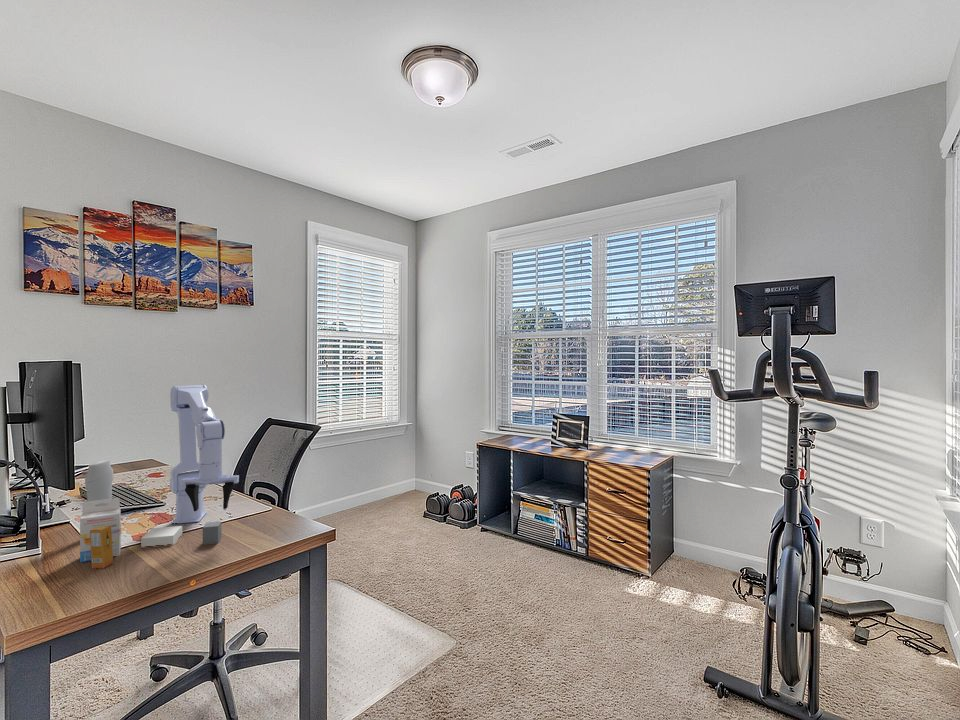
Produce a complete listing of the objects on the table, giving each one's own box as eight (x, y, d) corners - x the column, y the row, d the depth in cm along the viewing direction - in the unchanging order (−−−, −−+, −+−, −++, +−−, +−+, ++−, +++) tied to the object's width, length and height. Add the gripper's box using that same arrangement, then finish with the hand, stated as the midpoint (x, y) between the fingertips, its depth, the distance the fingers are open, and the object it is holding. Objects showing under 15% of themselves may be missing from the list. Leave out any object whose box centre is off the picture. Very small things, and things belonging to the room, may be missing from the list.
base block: (152, 538, 146) (151, 528, 145) (182, 535, 148) (182, 525, 148) (141, 548, 138) (141, 538, 138) (173, 545, 140) (173, 535, 140)
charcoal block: (206, 539, 144) (206, 522, 144) (221, 538, 145) (221, 521, 145) (202, 544, 140) (202, 527, 140) (218, 543, 141) (218, 526, 141)
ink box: (79, 563, 127) (78, 507, 127) (82, 556, 132) (81, 501, 131) (120, 556, 132) (119, 501, 132) (121, 549, 136) (120, 496, 136)
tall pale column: (93, 540, 143) (92, 464, 142) (79, 540, 143) (78, 464, 142) (119, 527, 153) (119, 457, 153) (106, 527, 153) (105, 456, 153)
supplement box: (100, 563, 128) (100, 524, 127) (113, 563, 127) (112, 525, 127) (89, 568, 124) (89, 529, 124) (103, 569, 124) (102, 529, 124)
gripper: (177, 467, 136) (178, 515, 136) (235, 464, 140) (235, 511, 140) (185, 461, 143) (186, 507, 143) (240, 458, 147) (240, 503, 147)
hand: (210, 509), depth 142 cm, fingers open, 7 cm apart
